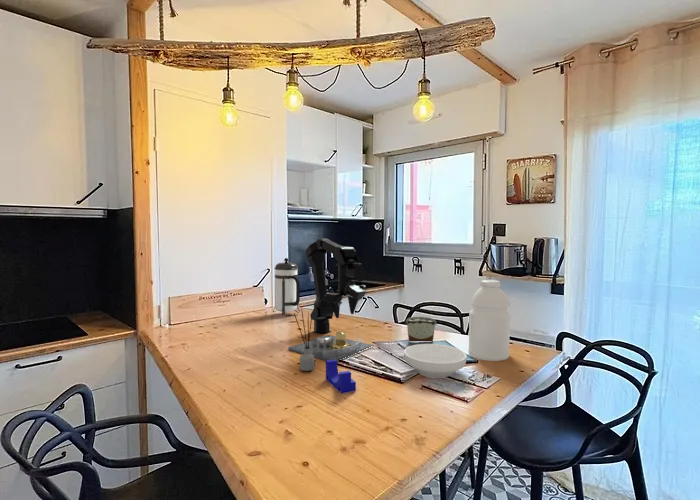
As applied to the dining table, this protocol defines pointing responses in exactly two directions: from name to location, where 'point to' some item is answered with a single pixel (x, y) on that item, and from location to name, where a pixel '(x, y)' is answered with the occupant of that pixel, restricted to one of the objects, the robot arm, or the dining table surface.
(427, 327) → the food container
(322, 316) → the robot arm
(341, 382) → the blue u-shaped block
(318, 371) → the dining table surface
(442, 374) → the bowl
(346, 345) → the gear
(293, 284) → the coffee press
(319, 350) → the carrier plate
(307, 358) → the reed diffuser
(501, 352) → the bottle
